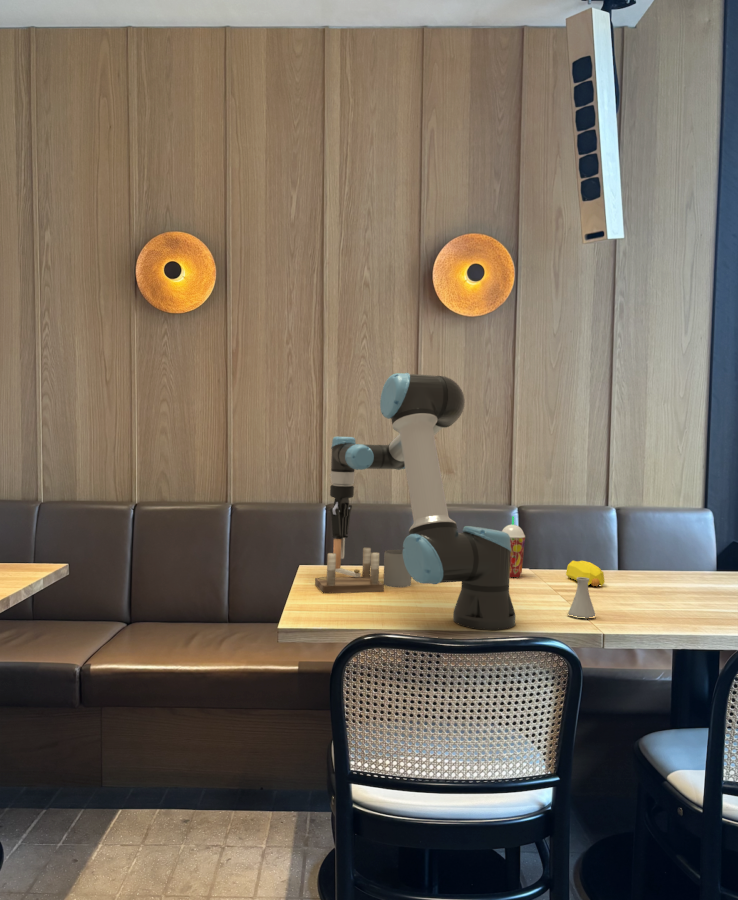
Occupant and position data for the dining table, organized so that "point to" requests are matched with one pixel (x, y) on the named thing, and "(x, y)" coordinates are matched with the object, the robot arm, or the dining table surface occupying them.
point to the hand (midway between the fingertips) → (339, 558)
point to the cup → (395, 569)
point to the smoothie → (515, 548)
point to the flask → (582, 600)
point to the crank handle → (338, 560)
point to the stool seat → (352, 583)
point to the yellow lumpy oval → (585, 572)
